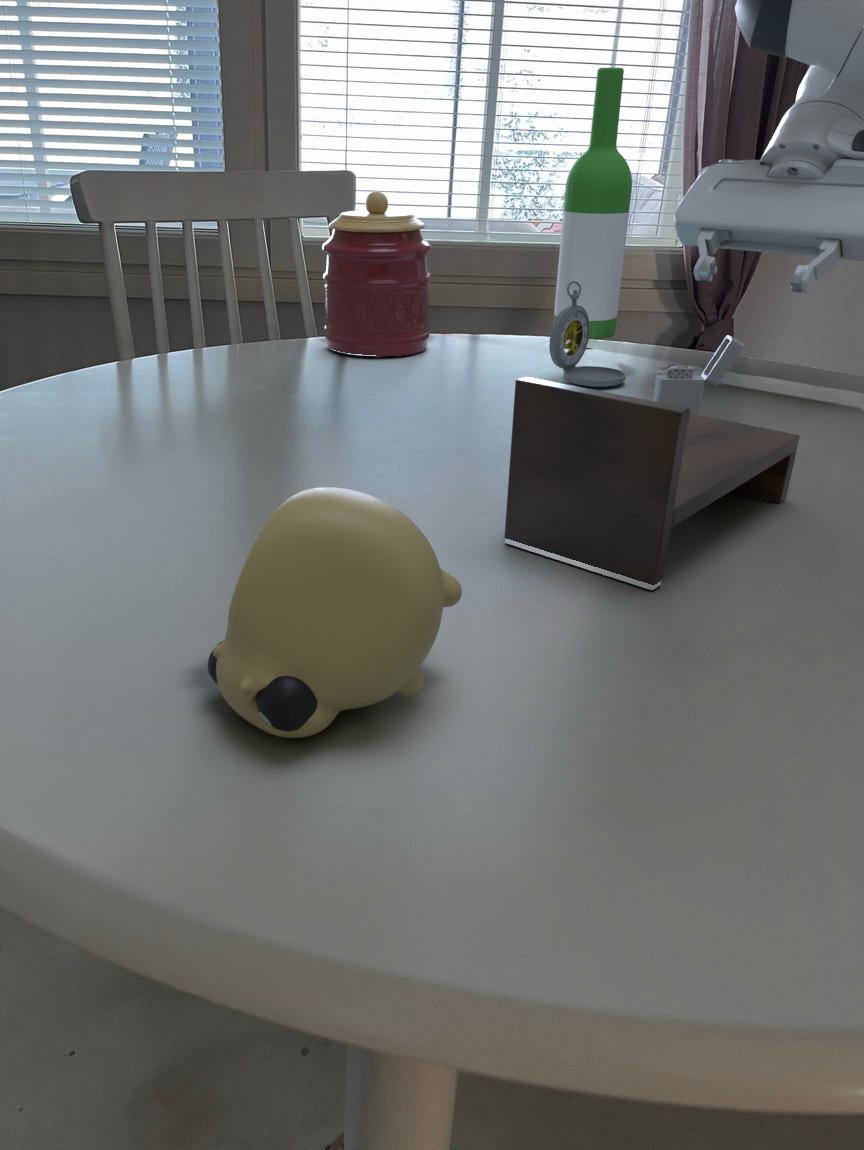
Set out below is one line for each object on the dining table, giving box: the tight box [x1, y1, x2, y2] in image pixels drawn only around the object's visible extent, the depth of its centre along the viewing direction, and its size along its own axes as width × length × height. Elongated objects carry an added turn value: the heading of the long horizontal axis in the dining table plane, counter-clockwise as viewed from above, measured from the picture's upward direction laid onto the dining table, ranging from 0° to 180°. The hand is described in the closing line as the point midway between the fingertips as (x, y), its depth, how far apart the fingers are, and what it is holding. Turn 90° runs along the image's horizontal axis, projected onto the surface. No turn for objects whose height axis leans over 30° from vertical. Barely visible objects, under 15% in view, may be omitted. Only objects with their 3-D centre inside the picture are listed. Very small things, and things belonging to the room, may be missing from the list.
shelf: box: [504, 376, 801, 585], centre depth 64 cm, size 11×21×11 cm, turn 138°
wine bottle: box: [552, 67, 633, 350], centre depth 111 cm, size 8×8×30 cm
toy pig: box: [207, 486, 463, 739], centre depth 44 cm, size 10×12×11 cm
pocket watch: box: [549, 281, 627, 388], centre depth 100 cm, size 8×8×10 cm
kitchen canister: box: [321, 190, 432, 357], centre depth 112 cm, size 13×13×18 cm
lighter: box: [652, 334, 745, 415], centre depth 86 cm, size 7×2×8 cm, turn 88°
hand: (748, 282), depth 88 cm, fingers open, 8 cm apart
